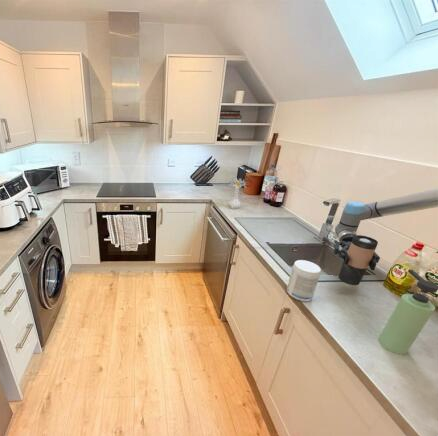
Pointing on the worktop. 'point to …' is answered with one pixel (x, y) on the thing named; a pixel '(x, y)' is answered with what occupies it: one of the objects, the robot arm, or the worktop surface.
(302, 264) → the supplement tub
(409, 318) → the soap bottle
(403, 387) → the worktop surface
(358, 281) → the travel mug
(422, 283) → the pump head
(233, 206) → the flower vase
